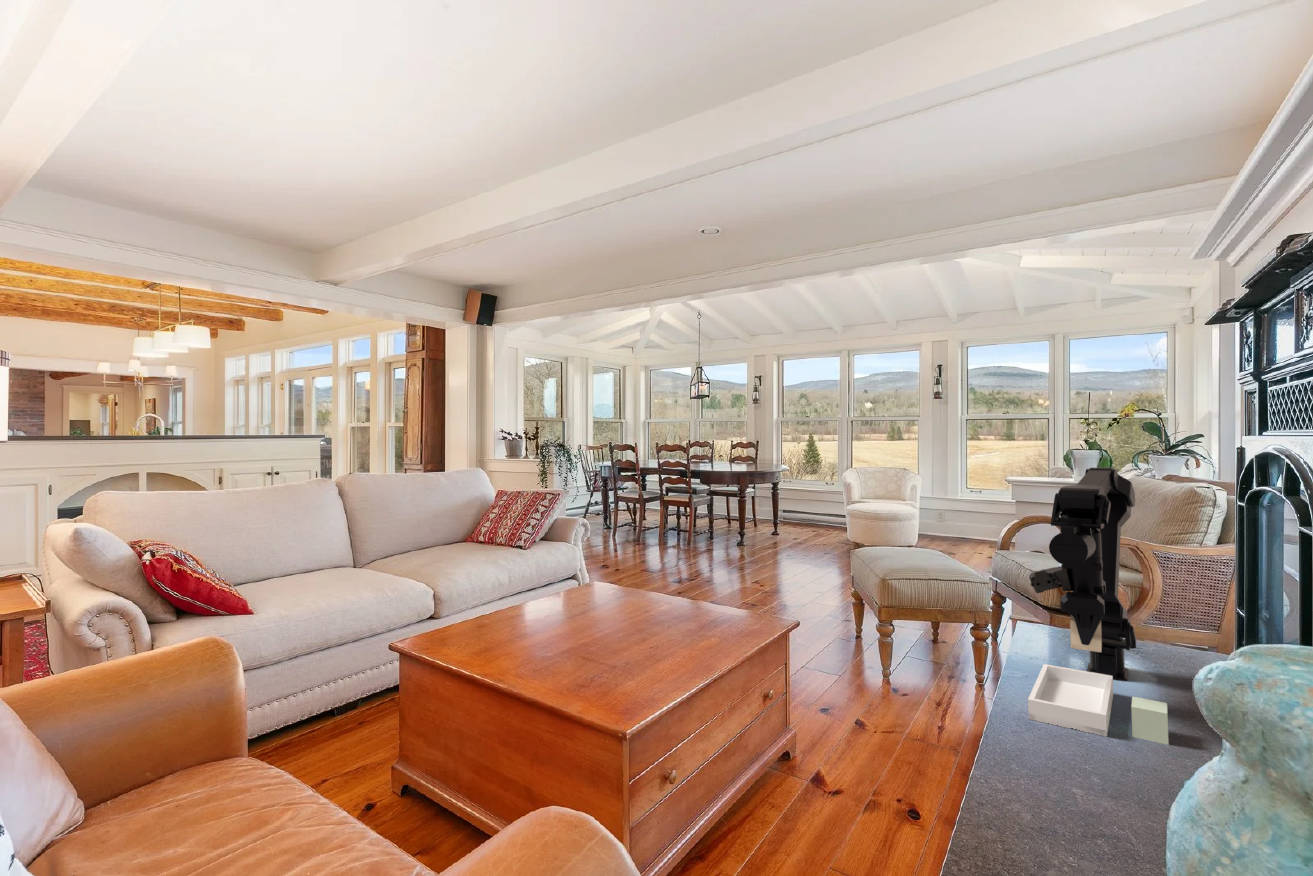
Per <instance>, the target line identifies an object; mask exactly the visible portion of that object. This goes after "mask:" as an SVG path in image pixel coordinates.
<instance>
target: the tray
mask: <svg viewBox="0 0 1313 876" xmlns="http://www.w3.org/2000/svg"><path fill="white" fill-rule="evenodd" d="M1041 667H1042V668H1041V669H1040V672H1039V674H1038V676H1037V679H1036V680H1035V683H1034V685H1033V687H1032V689H1031V692H1030V694H1029V696H1028V698H1027V703H1028V704H1027V705H1028V706H1027V707H1028V708H1027V709H1028V720H1032V721H1034V722H1041V723H1044V724H1048V723H1049V724H1048V725H1053V726H1057V725H1058V726H1059V727H1062V728H1065V729H1071V728H1073V729H1072V730H1075V729H1077V730H1076V731H1079V730H1080V731H1081V732H1084V733H1088V732H1089V733H1088V734H1093V733H1094V734H1093V735H1097V734H1098V735H1097V736H1102V737H1108V731H1109V727H1110V726H1109V725H1110V721H1111V720H1110V719H1111V712H1112V706H1113V699H1114V679H1113V676H1110V675H1105V674H1099V673H1093V672H1087V670H1081V669H1076V668H1071V667H1070V668H1069V667H1064V666H1059V665H1058V666H1057V665H1053V664H1052V665H1051V664H1048V663H1047V664H1046V663H1043V665H1042V666H1041Z"/></svg>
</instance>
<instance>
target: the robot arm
mask: <svg viewBox="0 0 1313 876" xmlns="http://www.w3.org/2000/svg"><path fill="white" fill-rule="evenodd" d="M1135 505H1136V493H1135V490H1134V486H1133V483H1132V481H1131V480H1129V479H1127V478H1126V477H1123V476H1122V475H1120V474H1119V473H1118V470H1117V469H1116V468H1112V467H1090V468H1086V469H1085V471H1084V475H1083V477H1081V479H1080V480H1079V482H1077V483H1076V484H1074V485H1064V486H1061V488H1059V490H1058V492H1057V493H1055V495H1054V498H1053V505H1052V510H1051V511H1052V512H1051V519H1050V526H1052V527H1053V526H1054V527H1060V532H1059V533H1058V534H1056V535H1054V536H1053V537H1052V539H1051V540H1050V542H1049V545H1048V548H1049V554H1050V555H1051V557H1052V558H1053V559H1054V560H1055V561H1056V562H1057V563H1059V564H1061V565H1060V566H1056V567H1055V566H1054V567H1050V568H1046V569H1044V568H1042V569H1041V570H1035V571H1033V572H1030V574H1029V576H1028V579H1029V581H1030V586H1031V587H1033V590H1034V592H1035V594H1041V593H1044V592H1046V591H1050V590H1056V589H1060V588H1061V591H1062V592H1065V593H1064V594H1063V595H1061V597H1060V600H1059V601H1060V602H1059V604H1060V612H1063V613H1068V614H1069V615H1070V616H1071V615H1072V616H1073V617H1074V620H1075V623H1076V627H1077V630H1078V633H1079V637H1080V640H1081V643H1082V644H1083V645H1089V644H1090V642H1091V640H1092V638H1093V635H1094V633H1095V631H1096V629H1097V627H1098V625H1099V623H1100V621H1101V634H1102V651H1101V652H1095V651H1089V663H1088V666H1087V669H1086V671H1087V672H1093V673H1099V674H1105V675H1110V676H1113V680H1115V681H1116V680H1117V681H1122V682H1126V681H1128V676H1129V669H1128V668H1127V667H1125V666H1126V665H1125V664H1126V663H1125V650H1126V651H1131V650H1132V649H1134V650H1135V649H1137V637H1136V636H1137V635H1136V632H1135V627H1134V626H1133V625H1132V623H1131V620H1130V618H1128V611H1127V609H1126V607H1124V604H1123V603H1122V602H1121V600H1120V599H1119V585H1120V583H1119V579H1120V577H1119V576H1120V559H1121V558H1120V557H1121V556H1120V555H1121V554H1120V553H1121V536H1122V535H1121V534H1122V533H1121V532H1122V530H1121V529H1122V527H1123V526H1124V525H1125V524H1126V523H1127V522H1128V520H1129V519H1130V518H1131V517H1132V508H1134V507H1135Z"/></svg>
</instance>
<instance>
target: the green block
mask: <svg viewBox="0 0 1313 876" xmlns="http://www.w3.org/2000/svg"><path fill="white" fill-rule="evenodd" d="M1130 707H1131V708H1130V709H1131V729H1132V730H1131V733H1132V735H1131V736H1132V738H1136V739H1141V740H1146V741H1148V742H1149V741H1150V742H1154V743H1159V744H1162V745H1168V746H1169V745H1170V744H1169V721H1168V719H1169V716H1168V703H1167V702H1164V701H1158V700H1153V699H1148V698H1143V697H1138V696H1137V697H1136V696H1132V698H1131V705H1130Z"/></svg>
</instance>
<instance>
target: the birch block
mask: <svg viewBox="0 0 1313 876" xmlns="http://www.w3.org/2000/svg"><path fill="white" fill-rule="evenodd" d="M1069 619H1070V620H1069V630H1070V634H1069V635H1070V648H1071V649H1074V650H1075V649H1076V650H1083V651H1089V652H1090V651H1095V652H1101V651H1102V634H1101V621H1100V623H1099V625H1098V627H1097V629H1096V631H1095V633H1094V635H1093V638H1092V640H1091V642H1090V644H1089V645H1083V644H1082V643H1081V640H1080V637H1079V633H1078V630H1077V627H1076V623H1075V620H1074V617H1073V616H1072V615H1070V618H1069Z"/></svg>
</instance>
